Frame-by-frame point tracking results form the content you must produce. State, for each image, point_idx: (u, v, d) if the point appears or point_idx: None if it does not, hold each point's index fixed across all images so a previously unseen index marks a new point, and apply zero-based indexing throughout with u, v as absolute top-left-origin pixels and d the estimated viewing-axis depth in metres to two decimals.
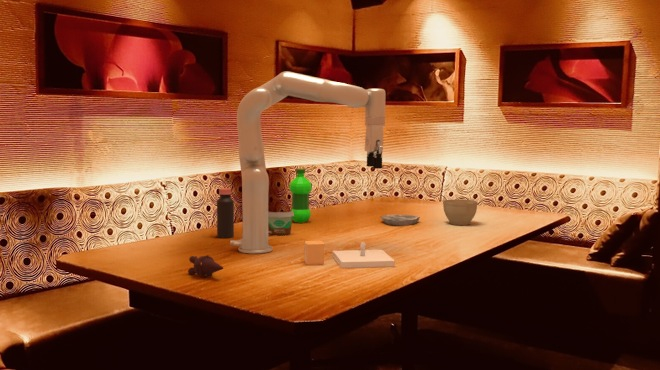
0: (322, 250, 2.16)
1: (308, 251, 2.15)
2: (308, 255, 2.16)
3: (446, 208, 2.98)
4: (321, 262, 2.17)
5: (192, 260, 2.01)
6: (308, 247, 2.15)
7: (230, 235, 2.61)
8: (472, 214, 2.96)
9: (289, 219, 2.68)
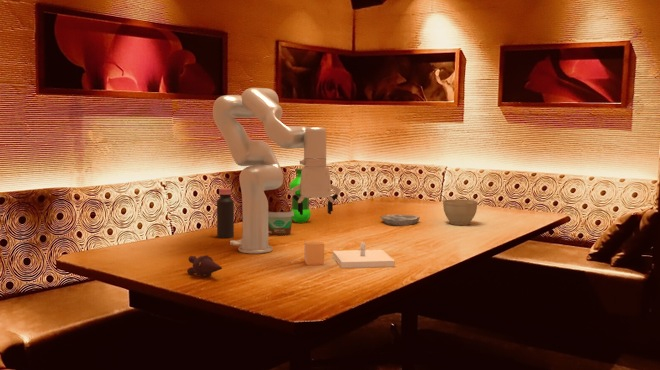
0: (322, 250, 2.16)
1: (308, 251, 2.15)
2: (308, 255, 2.16)
3: (446, 208, 2.98)
4: (321, 262, 2.17)
5: (191, 260, 2.01)
6: (308, 247, 2.15)
7: (230, 235, 2.61)
8: (472, 214, 2.96)
9: (289, 219, 2.68)
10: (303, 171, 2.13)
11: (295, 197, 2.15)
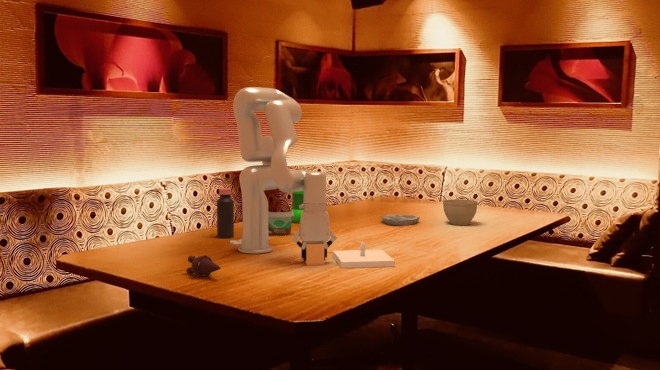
0: (322, 250, 2.16)
1: (308, 251, 2.15)
2: (308, 255, 2.16)
3: (446, 208, 2.98)
4: (321, 262, 2.17)
5: (190, 260, 2.01)
6: (308, 247, 2.15)
7: (230, 235, 2.61)
8: (472, 214, 2.96)
9: (289, 219, 2.68)
10: (302, 216, 2.15)
11: (299, 243, 2.17)
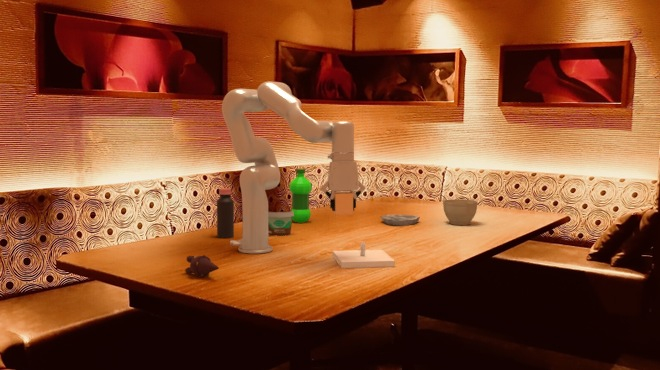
0: (351, 200, 2.16)
1: (337, 201, 2.15)
2: (337, 205, 2.15)
3: (446, 208, 2.98)
4: (350, 212, 2.16)
5: (189, 260, 2.01)
6: (337, 197, 2.15)
7: (230, 235, 2.61)
8: (472, 214, 2.96)
9: (289, 219, 2.68)
10: (331, 165, 2.15)
11: (328, 193, 2.16)
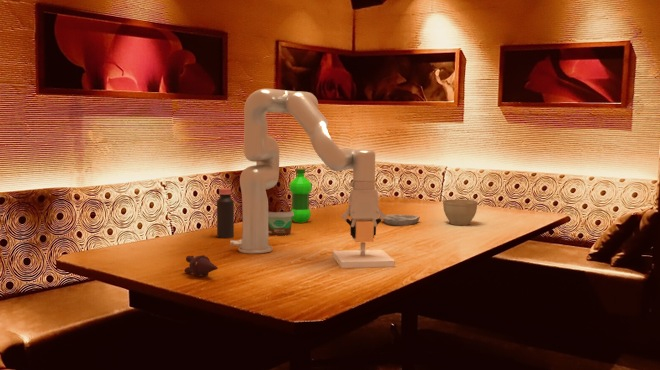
0: (372, 227, 2.18)
1: (358, 228, 2.17)
2: (358, 232, 2.18)
3: (446, 208, 2.98)
4: (370, 239, 2.18)
5: (188, 260, 2.01)
6: (358, 224, 2.17)
7: (230, 235, 2.61)
8: (472, 214, 2.96)
9: (289, 219, 2.68)
10: (352, 193, 2.17)
11: (348, 221, 2.19)
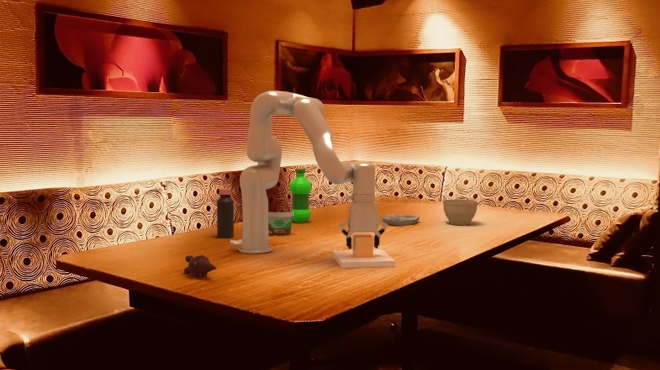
0: (371, 243, 2.19)
1: (357, 244, 2.18)
2: (357, 248, 2.18)
3: (446, 208, 2.98)
4: (370, 255, 2.19)
5: (188, 259, 2.02)
6: (357, 240, 2.18)
7: (230, 235, 2.61)
8: (472, 214, 2.96)
9: (289, 219, 2.68)
10: (352, 206, 2.17)
11: (344, 232, 2.19)
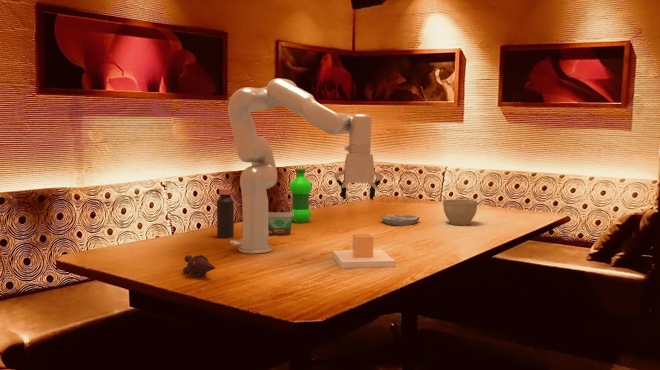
0: (371, 243, 2.19)
1: (357, 244, 2.18)
2: (357, 248, 2.18)
3: (446, 208, 2.98)
4: (370, 255, 2.19)
5: (187, 259, 2.02)
6: (357, 240, 2.18)
7: (230, 235, 2.61)
8: (472, 214, 2.96)
9: (289, 219, 2.68)
10: (348, 157, 2.19)
11: (339, 182, 2.21)
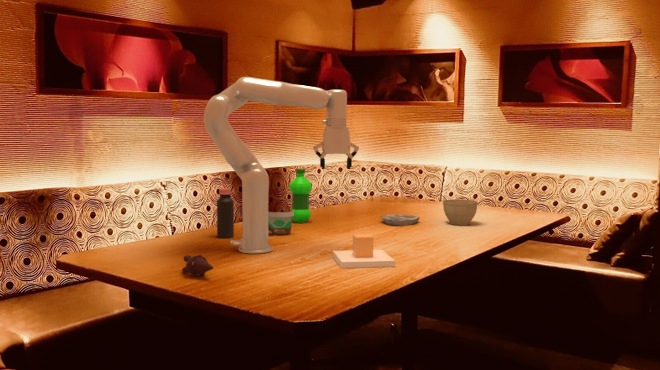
0: (371, 243, 2.19)
1: (357, 244, 2.18)
2: (357, 248, 2.18)
3: (446, 208, 2.98)
4: (370, 255, 2.19)
5: (186, 259, 2.02)
6: (357, 240, 2.18)
7: (230, 235, 2.61)
8: (472, 214, 2.96)
9: (289, 219, 2.68)
10: (325, 129, 2.35)
11: (318, 153, 2.37)
